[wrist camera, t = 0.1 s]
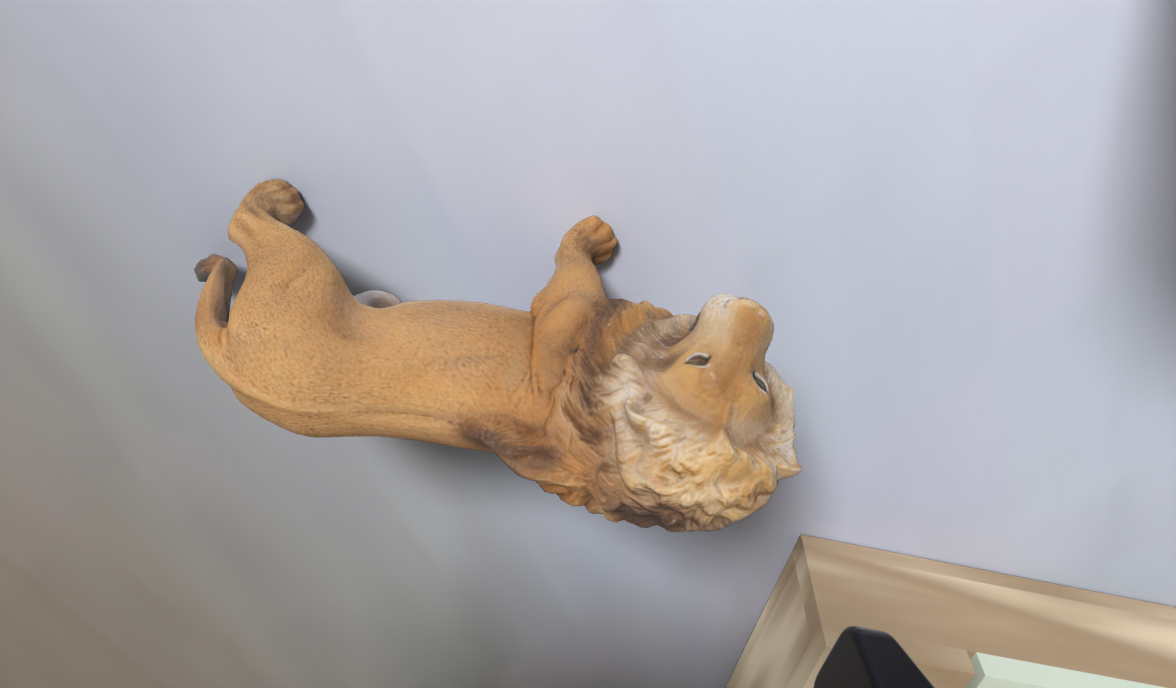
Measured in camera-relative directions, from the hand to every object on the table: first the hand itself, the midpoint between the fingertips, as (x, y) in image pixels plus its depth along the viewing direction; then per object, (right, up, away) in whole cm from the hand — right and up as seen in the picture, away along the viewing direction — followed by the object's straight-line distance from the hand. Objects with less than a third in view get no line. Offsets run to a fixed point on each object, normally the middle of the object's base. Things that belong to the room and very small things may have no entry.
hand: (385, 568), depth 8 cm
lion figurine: (0, +5, +15) cm, 15 cm away
